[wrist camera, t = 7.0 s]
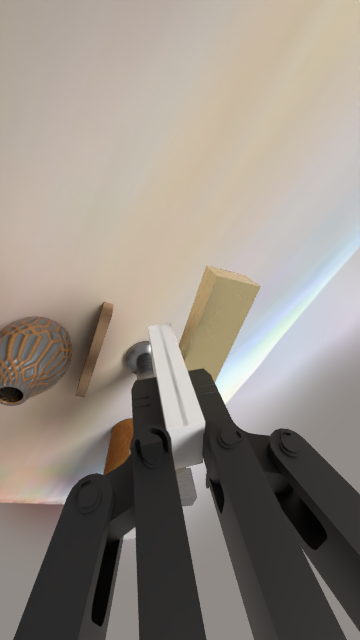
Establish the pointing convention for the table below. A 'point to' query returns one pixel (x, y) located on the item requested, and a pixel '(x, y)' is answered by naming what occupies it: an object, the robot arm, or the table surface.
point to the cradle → (95, 348)
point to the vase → (32, 358)
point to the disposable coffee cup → (120, 453)
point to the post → (140, 360)
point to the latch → (213, 335)
